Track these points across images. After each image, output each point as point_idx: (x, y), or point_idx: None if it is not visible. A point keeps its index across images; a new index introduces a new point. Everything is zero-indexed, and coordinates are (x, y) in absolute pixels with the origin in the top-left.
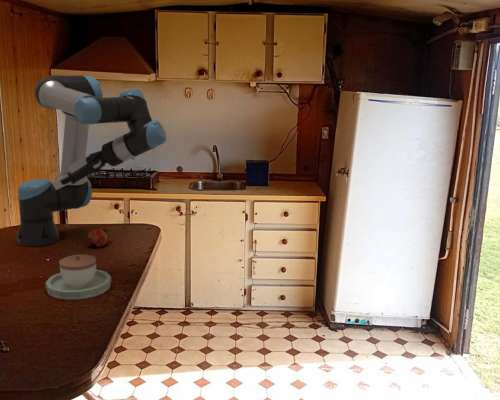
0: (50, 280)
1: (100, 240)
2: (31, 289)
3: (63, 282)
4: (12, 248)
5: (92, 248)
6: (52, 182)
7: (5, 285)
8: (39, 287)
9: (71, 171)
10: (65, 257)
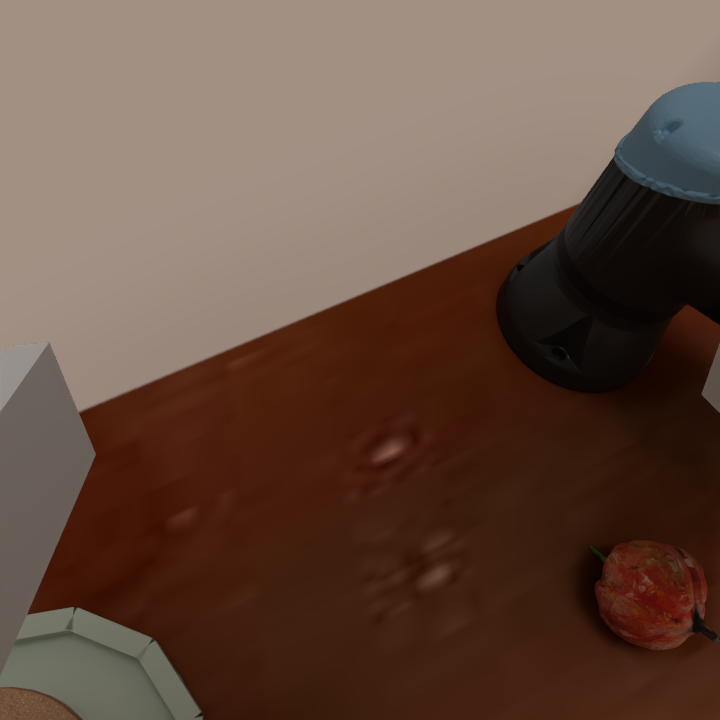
0: None
1: (621, 627)
2: None
3: (56, 691)
4: (462, 277)
5: (582, 585)
6: (3, 363)
7: None
8: None
9: (717, 371)
10: (34, 702)
